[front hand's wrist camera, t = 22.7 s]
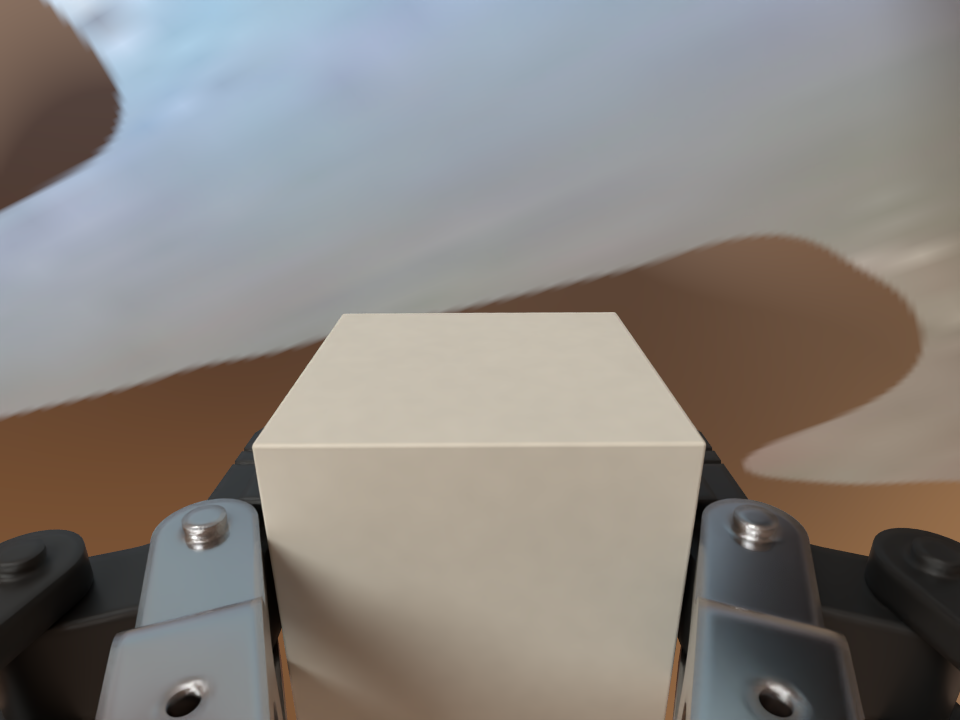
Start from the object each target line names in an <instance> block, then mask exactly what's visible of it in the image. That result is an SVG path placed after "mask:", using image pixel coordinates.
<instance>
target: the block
mask: <svg viewBox="0 0 960 720" xmlns="http://www.w3.org/2000/svg"><path fill="white" fill-rule="evenodd" d="M252 449H253V455H254V461H255V468H256V474H257V480H258V486H259V492H260V498H261V504H262V510H263V516H264V522H265V529H266V535H267V541H268V547H269V553H270V559H271V565H272V571H273V577H274V584H275V590H276V596H277V602H278V608H279V614H280V620H281V626H282V632H283V638H284V645H285V651H286V657H287V663H288V669H289V675H290V681H291V687H292V693H293V700H294V705H295V712H296V718H297V720H665V715H666V708H667V702H668V695H669V688H670V682H671V675H672V668H673V662H674V655H675V649H676V642H677V635H678V629H679V622H680V615H681V609H682V602H683V596H684V589H685V582H686V576H687V569H688V562H689V556H690V549H691V542H692V536H693V529H694V522H695V516H696V509H697V502H698V496H699V489H700V483H701V476H702V469H703V463H704V456H705V449H706V443H705V441H704V439H703V438H702V436H701V435H700V434H699V432H698V431H697V429H696V428H695V426H694V425H693V424H692V422H691V421H690V419H689V418H688V416H687V415H686V413H685V412H684V410H683V409H682V408H681V406H680V405H679V403H678V402H677V400H676V399H675V398H674V396H673V395H672V393H671V392H670V390H669V389H668V387H667V386H666V385H665V383H664V382H663V380H662V379H661V377H660V376H659V374H658V373H657V372H656V370H655V369H654V367H653V366H652V364H651V363H650V362H649V360H648V359H647V357H646V356H645V354H644V353H643V352H642V350H641V348H640V347H639V346H638V344H637V343H636V341H635V340H634V338H633V337H632V335H631V334H630V333H629V331H628V330H627V328H626V327H625V325H624V324H623V323H622V321H621V320H620V318H619V317H618V315H617V314H616V313H614V312H604V313H603V312H602V313H405V314H343V315H342V316H341V318H340V319H339V321H338V322H337V324H336V325H335V326H334V328H333V329H332V331H331V332H330V334H329V335H328V337H327V338H326V339H325V341H324V342H323V344H322V345H321V347H320V348H319V350H318V351H317V352H316V354H315V355H314V357H313V358H312V360H311V361H310V363H309V364H308V365H307V367H306V368H305V370H304V371H303V373H302V374H301V376H300V377H299V378H298V380H297V381H296V383H295V384H294V386H293V387H292V389H291V390H290V391H289V393H288V394H287V396H286V397H285V399H284V400H283V402H282V403H281V405H280V406H279V407H278V409H277V410H276V412H275V413H274V415H273V416H272V417H271V419H270V420H269V422H268V423H267V425H266V426H265V427H264V429H263V430H262V432H261V433H260V435H259V436H258V438H257V439H256V440H255V442H254V443H253V446H252Z"/></svg>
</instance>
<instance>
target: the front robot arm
mask: <svg viewBox="0 0 960 720" xmlns="http://www.w3.org/2000/svg"><path fill="white" fill-rule="evenodd" d="M263 429H264V428H262V429H261V430H259V431H258V432H256V433H255V434H254V435H253V437H252V438H251V439H250V441H249V442H248V444H247V445H246V447H245V448H244V451H242V452H241V454H240V455H239V456H238V458H237V459H236V461H235V464H233V465H232V466H231V468H230V469H229V470H228V472H227V473H226V475H225V476H224V478H223V479H222V480H221V482H220V483H219V485H218V486H217V487H216V489H215V490H214V492H213V493H212V494H211V496H210V497H209V499H208V500H206V501H202V502H198V503H195V504H192V505H189V506H187V507H184V508H182V509H180V510H178V511H176V512H174V513H173V514H171V515H170V516H168V517H167V518H166V519H164V520H163V521H162V522H161V523H160V524H159V525H158V526H157V527H156V529H155V530H154V532H153V534H152V537H151V542H150V544H147V545H144V546H140V547H136V548H132V549H126V550H122V551H117V552H112V553H106V554H101V555H96V556H91V557H88V554H87V550H86V547H85V544H84V541H83V539H82V537H80V536H79V535H78V534H76V533H74V532H71V531H67V530H45V531H38V532H33V533H29V534H25V535H21V536H18V537H15V538H12V539H10V540H7V541H5V542H2V543H0V720H287V712H286V702H285V692H284V682H283V672H282V662H281V655H280V649H279V643H278V636H279V633H280V631H281V628H282V626H281V620H280V614H279V608H278V602H277V596H276V590H275V584H274V577H273V571H272V565H271V559H270V553H269V547H268V541H267V535H266V529H265V522H264V516H263V510H262V504H261V498H260V492H259V486H258V480H257V474H256V468H255V461H254V455H253V449H252V446H253V443H254V442H255V440H256V439H257V438H258V436H259V435H260V433H261V432H262V430H263ZM697 431H698V430H697ZM698 432H699V434H700V435H701V436H702V438H703V439H704V441H705V443H706V449H705V456H704V463H703V469H702V476H701V483H700V489H699V496H698V502H697V509H696V516H695V522H694V529H693V536H692V542H691V549H690V556H689V562H688V569H687V576H686V582H685V589H684V596H683V602H682V609H681V615H680V622H679V629H678V635H677V637H678V639H679V642H680V644H681V649H680V655H679V662H678V672H677V682H676V692H675V702H674V712H673V720H960V705H959V704H958V703H957V702H956V700H957V697H958V695H959V692H960V543H959V542H957V541H954V540H952V539H950V538H947V537H944V536H941V535H938V534H935V533H931V532H928V531H923V530H918V529H910V528H893V529H888V530H884V531H882V532H880V533H879V534H878V535H876V536H875V538H874V541H873V544H872V548H871V551H870V554H869V556H864V555H859V554H854V553H849V552H844V551H839V550H834V549H829V548H824V547H819V546H815V545H812V544H810V542H809V537H808V534H807V532H806V531H805V529H804V527H803V526H802V525H801V524H800V523H799V522H798V521H797V520H796V519H794V518H793V517H792V516H790V515H789V514H787V513H786V512H784V511H782V510H780V509H778V508H776V507H773V506H771V505H768V504H765V503H762V502H758V501H754V500H748V498H747V497H746V496H745V494H744V493H743V491H742V490H741V488H740V487H739V486H738V484H737V483H736V481H735V480H734V478H733V477H732V476H731V474H730V473H729V471H728V470H727V468H726V467H725V466H724V464H721V460H720V458H719V457H718V456H717V454H716V453H715V451H712V447H711V446H710V444H709V443H708V441H707V440H706V438H705V437H704V436H703V434H702V433H701V432H700V431H698Z"/></svg>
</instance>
